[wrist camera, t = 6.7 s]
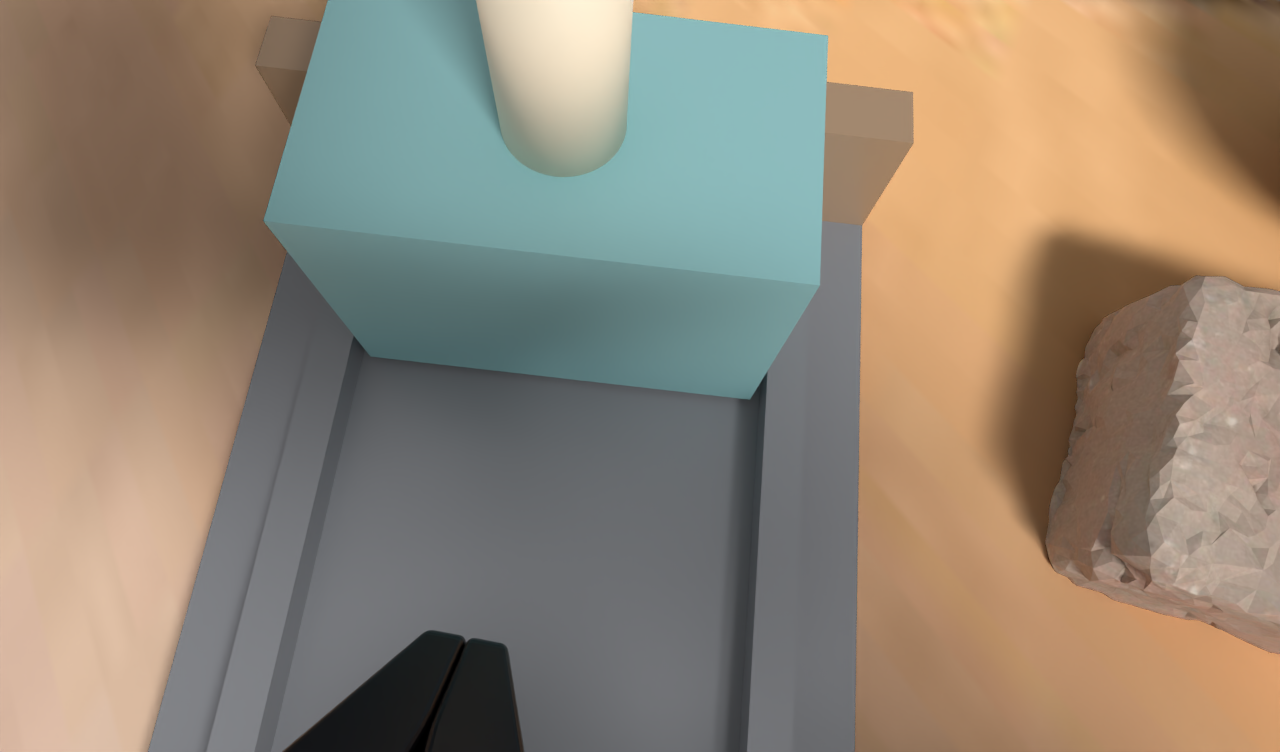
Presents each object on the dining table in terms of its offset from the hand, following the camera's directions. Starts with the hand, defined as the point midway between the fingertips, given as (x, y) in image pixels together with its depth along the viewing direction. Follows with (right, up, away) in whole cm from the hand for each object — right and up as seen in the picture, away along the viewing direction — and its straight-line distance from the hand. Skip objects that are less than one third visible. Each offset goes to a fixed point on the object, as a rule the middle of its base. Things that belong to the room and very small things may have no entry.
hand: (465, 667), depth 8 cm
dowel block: (0, +6, +14) cm, 15 cm away
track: (-1, +1, +13) cm, 13 cm away
